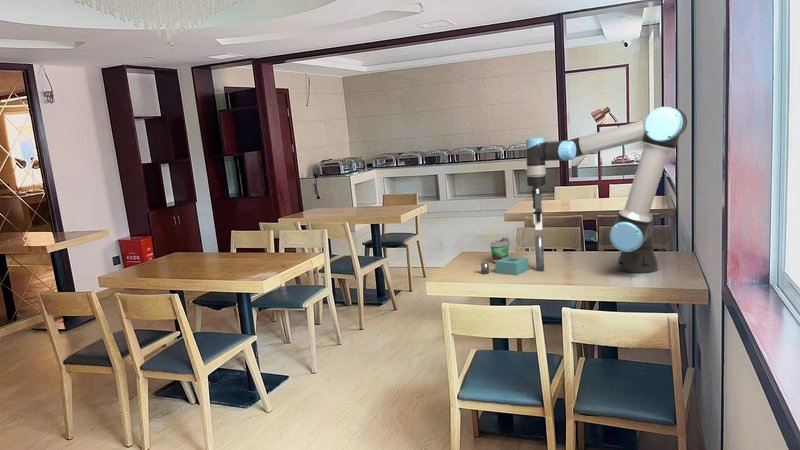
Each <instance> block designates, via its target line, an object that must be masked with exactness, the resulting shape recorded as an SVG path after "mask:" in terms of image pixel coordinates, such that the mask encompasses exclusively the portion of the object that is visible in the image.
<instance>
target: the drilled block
mask: <svg viewBox="0 0 800 450" xmlns="http://www.w3.org/2000/svg"><path fill="white" fill-rule="evenodd" d="M494 265H495V274H500V273H503V274H502V275H509V274H510V275H511V276H518V275H519V276H520V274H523V273H525V272H527V271H529V270H530V269H529V258H528V257H527V258H526V257H516V256H515V257H514V256H508V257H505V258H503V259H500V260H498V261H495V263H494Z"/></svg>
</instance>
